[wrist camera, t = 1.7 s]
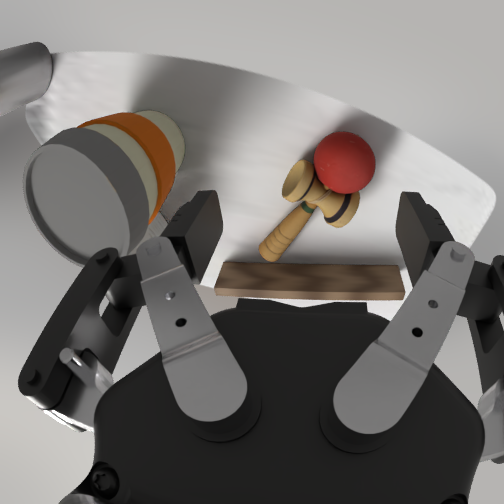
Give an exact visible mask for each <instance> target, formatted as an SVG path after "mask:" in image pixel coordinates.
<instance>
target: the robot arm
mask: <svg viewBox="0 0 504 504" xmlns="http://www.w3.org/2000/svg"><path fill="white" fill-rule="evenodd" d="M51 74H52V60H51V56H50V52H49V50H48V49H47V47H46V46H45V45H44V44H42V43H40V42H33V43H29V44H25V45H20V46H16V47H12V48H8V49H4V50H1V51H0V116H2V115H4V114H6V113H8V112H10V111H12V110H14V109H17V108H19V107H21V106H23V105H26V104H28V103H30V102H33V101H35V100H37V99H39V98H40V97H41V96H42V95H43V94H44V93H45V91H46V90H47V88H48V86H49V83H50V80H51ZM222 231H223V220H222V215H221V210H220V205H219V200H218V195H217V192H216V191H215V190H208V191H198V192H197V193H196V195H195V196H194V198H193V199H192V200H191V202H187V203H186V204H185V205H183V206H182V207H180V208H179V210H178V211H177V212H176V214H175V216H173V218H172V219H171V222H169V223H168V225H167V226H166V228H165V229H164V231H163V232H162V233H161V235H160V236H159V237H154V238H151V239H148V240H146V241H145V242H143V243H142V244H141V245H140V246H139V247H138V248H137V250H136V254H132V255H127V256H123V257H121V256H120V254H119V252H118V250H117V249H116V248H113V247H108V248H104V249H102V250H100V251H98V252H96V253H95V254H94V255H93V256H92V257H91V258H90V259H89V261H88V262H87V264H86V265H85V266H84V268H83V269H82V271H81V272H80V274H79V275H78V276H77V278H76V279H75V281H74V282H73V284H72V285H71V287H70V288H69V290H68V291H67V293H66V294H65V296H64V297H63V299H62V300H61V302H60V304H59V305H58V307H57V308H56V310H55V311H54V313H53V315H52V316H51V318H50V320H49V321H48V323H47V324H46V326H45V328H44V330H43V331H42V333H41V335H40V337H39V338H38V340H37V342H36V344H35V346H34V347H33V349H32V351H31V353H30V355H29V357H28V359H27V360H26V362H25V364H24V366H23V368H22V370H21V372H20V375H19V379H18V387H19V390H20V392H21V393H22V394H23V395H24V396H26V397H27V398H28V399H30V400H31V401H32V402H33V403H35V404H36V405H37V406H38V407H39V408H40V409H41V410H42V411H44V412H45V413H47V414H48V415H49V416H51V417H52V418H54V419H55V420H57V421H58V422H60V423H63V424H65V425H66V426H68V427H69V428H71V429H73V430H74V431H76V432H84V431H86V430H89V431H91V432H94V435H95V453H94V461H93V466H92V469H91V470H90V472H89V474H88V476H87V477H86V478H85V479H84V481H83V482H82V483H81V484H80V485H79V486H78V487H77V488H76V489H74V490H73V491H72V492H71V493H70V494H68V495H67V496H66V497H65V498H63V499H62V500H61V501H60V502H59V504H468V498H469V493H470V489H471V485H472V481H473V478H474V475H475V472H476V469H477V466H478V464H479V462H482V461H486V460H490V459H491V460H492V461H493V462H494V463H497V464H501V463H504V330H503V327H502V324H501V321H500V318H499V315H500V314H501V312H503V314H504V256H501V255H498V256H496V257H494V259H493V261H492V263H491V265H488V264H485V263H481V262H478V261H475V257H474V254H473V252H472V251H471V250H470V249H469V248H468V247H467V246H465V245H463V244H461V243H459V242H455V240H454V238H453V236H452V235H451V233H450V231H449V229H448V228H447V226H446V225H445V223H444V221H443V220H442V218H441V216H440V214H439V213H438V211H437V210H436V209H434V208H433V207H432V206H431V205H429V204H426V203H425V201H424V200H423V198H422V197H421V195H420V194H419V193H418V192H402V193H401V196H400V202H399V208H398V214H397V220H396V237H397V240H398V243H399V246H400V248H401V251H402V254H403V257H404V260H405V264H406V267H407V270H408V273H409V276H410V280H411V283H412V287H413V289H412V291H411V292H410V294H409V295H408V297H407V298H406V300H405V301H404V303H403V304H402V306H401V307H400V309H399V310H398V312H397V313H396V315H395V316H394V317H393V319H392V320H391V321H389V320H387V319H385V318H383V317H381V316H379V315H376V314H373V313H369V312H368V311H367V302H333V303H327V304H321V305H316V306H310V307H296V306H292V305H288V304H284V303H280V302H276V301H272V300H263V299H244V298H239V299H238V303H237V306H236V308H231V309H226V310H223V311H220V312H218V313H215V314H213V315H211V316H209V314H208V312H207V310H206V308H205V306H204V304H203V302H202V300H201V299H200V297H199V295H198V293H197V291H196V289H195V287H194V285H193V284H200V283H201V281H202V278H203V276H204V274H205V271H206V269H207V267H208V264H209V262H210V260H211V257H212V255H213V253H214V251H215V248H216V246H217V244H218V242H219V239H220V237H221V235H222ZM105 295H106V297H107V299H108V300H109V304H108V306H107V307H106V309H105V311H104V313H103V315H102V317H100V314H99V306H100V303H101V301H102V300H103V298H104V296H105ZM144 305H147V309H148V312H149V315H150V319H151V322H152V325H153V329H154V332H155V335H156V338H157V341H158V344H159V347H160V350H161V351H160V352H159V353H157V354H156V355H155V356H153V357H152V358H150V359H149V360H148V361H146V362H145V363H143V364H142V365H140V366H139V367H138V368H136V369H135V370H133V371H132V372H131V373H129V374H128V375H126V376H125V377H124V378H122V379H120V380H119V381H118V382H116V383H115V384H113V383H114V382H113V377H112V374H113V371H114V369H115V366H116V364H117V361H118V359H119V356H120V354H121V352H122V349H123V347H124V345H125V343H126V340H127V338H128V336H129V333H130V331H131V329H132V327H133V324H134V322H135V320H136V318H137V316H138V314H139V312H140V309H141V307H142V306H144ZM456 315H459V316H463V317H466V318H467V320H468V324H469V328H470V331H471V336H472V340H473V344H474V348H475V352H476V358H477V362H478V367H479V373H480V379H481V385H482V391H483V395H482V396H481V398H480V400H479V403H478V410H477V409H476V408H475V407H474V405H473V404H472V403H471V402H470V401H469V400H468V399H467V398H466V397H465V395H464V394H463V393H462V392H461V391H460V390H459V389H458V388H457V387H456V386H455V385H454V384H453V383H452V382H451V380H450V379H449V378H448V377H447V376H446V375H445V374H444V373H443V372H442V371H441V370H440V369H439V368H438V367H437V366H436V365H435V364H434V363H433V362H434V360H435V358H436V356H437V354H438V352H439V350H440V348H441V346H442V344H443V342H444V340H445V338H446V336H447V334H448V332H449V330H450V328H451V325H452V323H453V321H454V318H455V316H456Z"/></svg>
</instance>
